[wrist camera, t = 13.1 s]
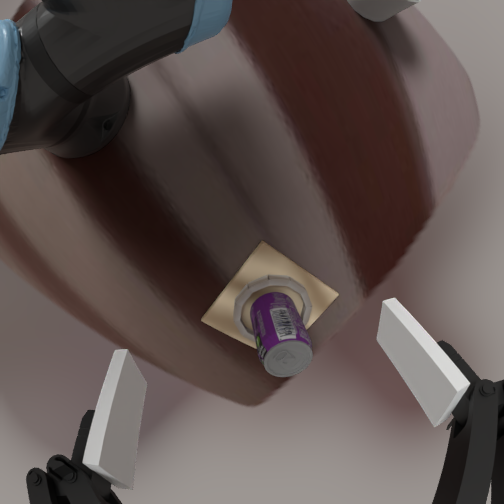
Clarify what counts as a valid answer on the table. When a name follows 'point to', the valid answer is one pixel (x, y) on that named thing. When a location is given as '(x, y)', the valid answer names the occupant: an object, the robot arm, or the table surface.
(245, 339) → the ring board
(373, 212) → the table surface
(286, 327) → the beverage can
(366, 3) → the cup
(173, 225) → the table surface
